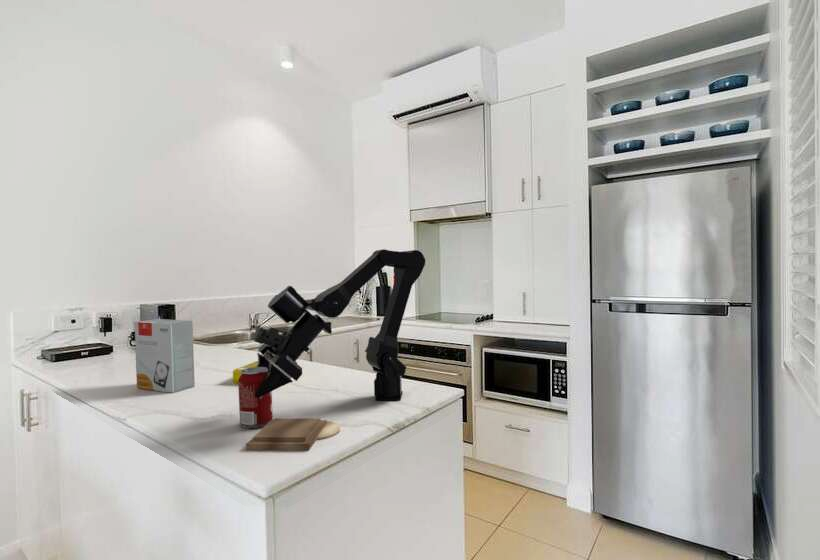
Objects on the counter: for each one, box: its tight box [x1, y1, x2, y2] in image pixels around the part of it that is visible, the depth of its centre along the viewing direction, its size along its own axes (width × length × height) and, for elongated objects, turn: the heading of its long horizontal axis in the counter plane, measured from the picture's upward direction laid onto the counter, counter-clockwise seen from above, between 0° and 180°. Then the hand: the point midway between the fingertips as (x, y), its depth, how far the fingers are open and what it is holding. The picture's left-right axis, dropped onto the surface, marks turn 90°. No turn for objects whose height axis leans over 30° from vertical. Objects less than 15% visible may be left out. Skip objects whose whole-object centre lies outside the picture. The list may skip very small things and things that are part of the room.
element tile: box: [232, 360, 276, 385], centre depth 131 cm, size 15×15×5 cm
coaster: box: [316, 420, 341, 441], centre depth 86 cm, size 9×9×1 cm
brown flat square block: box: [245, 417, 328, 451], centre depth 83 cm, size 12×12×2 cm
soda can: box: [237, 367, 274, 429], centre depth 91 cm, size 7×7×12 cm
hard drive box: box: [133, 318, 196, 394], centre depth 123 cm, size 16×8×20 cm, turn 68°
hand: (251, 391), depth 90 cm, fingers open, 9 cm apart
